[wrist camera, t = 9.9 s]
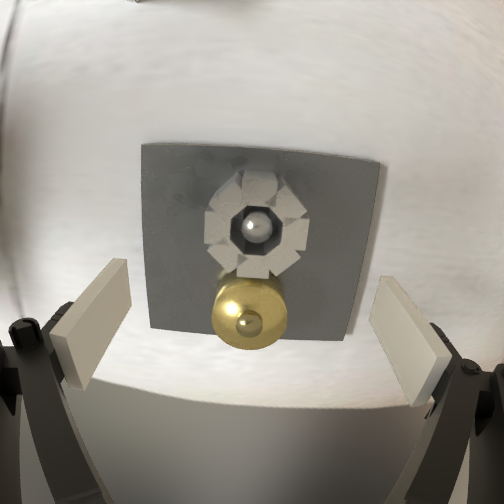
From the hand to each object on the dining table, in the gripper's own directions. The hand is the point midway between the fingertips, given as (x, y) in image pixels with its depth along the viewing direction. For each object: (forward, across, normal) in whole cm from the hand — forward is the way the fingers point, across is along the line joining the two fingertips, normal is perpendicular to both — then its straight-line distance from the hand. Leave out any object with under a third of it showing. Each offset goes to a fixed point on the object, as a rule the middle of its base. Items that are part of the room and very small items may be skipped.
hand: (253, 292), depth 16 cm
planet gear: (+15, 0, 0) cm, 15 cm away
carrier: (+16, 0, -4) cm, 16 cm away
